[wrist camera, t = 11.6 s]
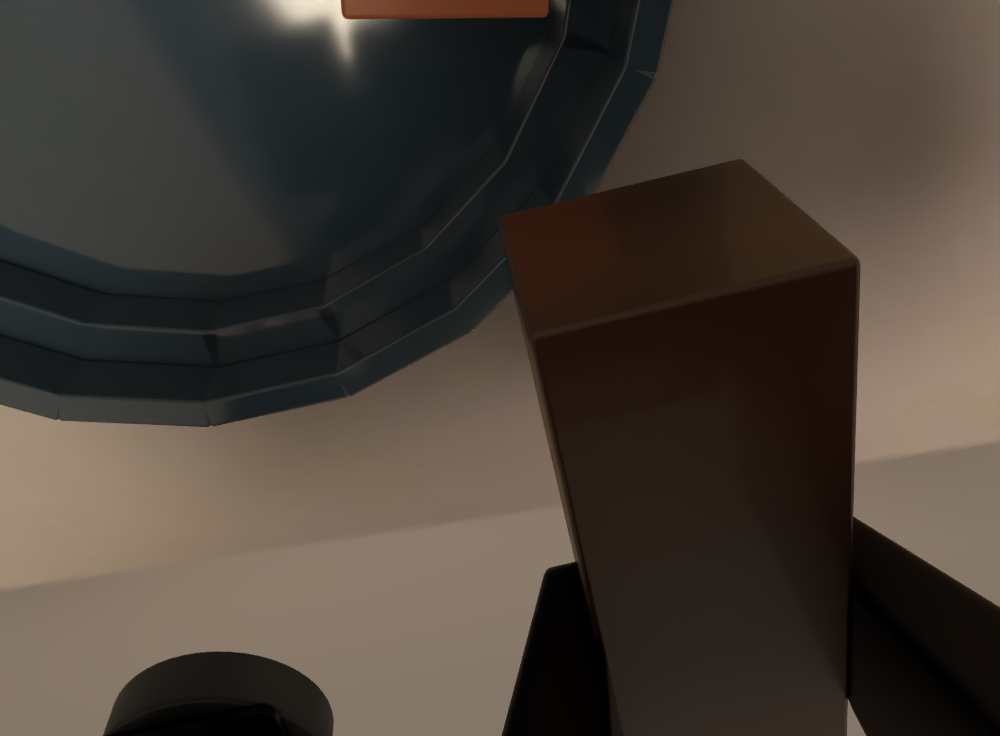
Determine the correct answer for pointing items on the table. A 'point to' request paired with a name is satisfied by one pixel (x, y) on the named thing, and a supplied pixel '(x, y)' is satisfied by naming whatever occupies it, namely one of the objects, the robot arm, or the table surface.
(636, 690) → the stick
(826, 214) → the table surface
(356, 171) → the bowl
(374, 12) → the block
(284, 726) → the robot arm
